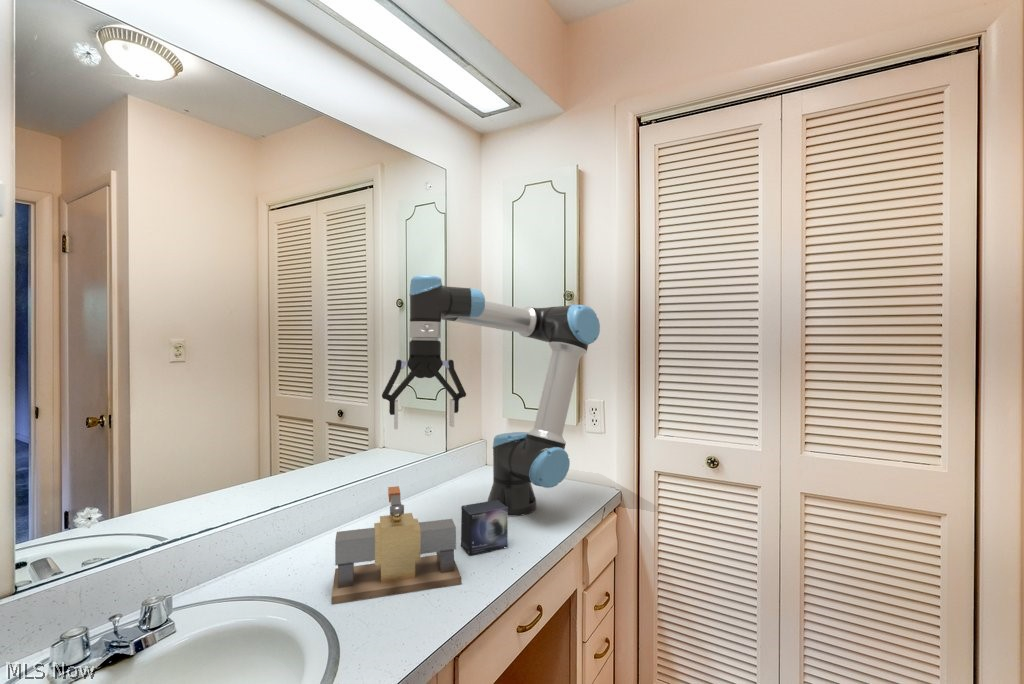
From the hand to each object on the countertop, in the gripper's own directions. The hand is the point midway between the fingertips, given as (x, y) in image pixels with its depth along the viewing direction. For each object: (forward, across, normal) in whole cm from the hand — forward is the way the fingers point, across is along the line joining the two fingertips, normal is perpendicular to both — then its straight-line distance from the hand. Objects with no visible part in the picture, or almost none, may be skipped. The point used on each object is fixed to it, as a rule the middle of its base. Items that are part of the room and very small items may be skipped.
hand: (424, 427), depth 115 cm
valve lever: (+17, -7, -4) cm, 19 cm away
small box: (+31, +15, 0) cm, 35 cm away
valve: (+30, -7, -10) cm, 32 cm away
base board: (+31, -7, -10) cm, 33 cm away
